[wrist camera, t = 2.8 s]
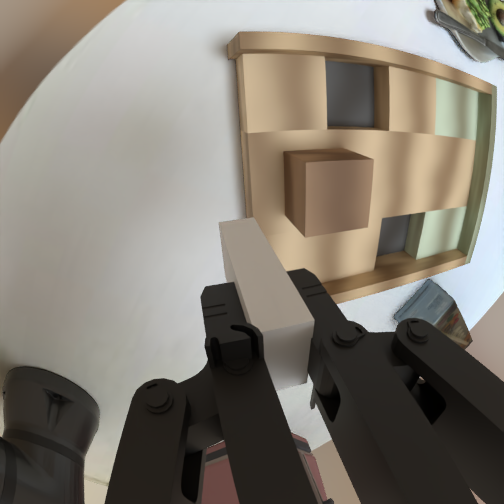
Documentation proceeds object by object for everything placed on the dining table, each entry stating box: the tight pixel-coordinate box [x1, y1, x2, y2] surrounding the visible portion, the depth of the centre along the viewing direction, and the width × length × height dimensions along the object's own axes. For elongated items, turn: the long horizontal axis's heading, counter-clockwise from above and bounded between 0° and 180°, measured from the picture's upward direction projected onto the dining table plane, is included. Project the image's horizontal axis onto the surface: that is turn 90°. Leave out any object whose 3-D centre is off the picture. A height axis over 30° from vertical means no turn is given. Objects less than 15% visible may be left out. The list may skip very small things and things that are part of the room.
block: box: [283, 148, 374, 238], centre depth 20 cm, size 5×5×4 cm
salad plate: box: [434, 0, 504, 63], centre depth 16 cm, size 19×18×5 cm
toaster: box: [201, 433, 334, 504], centre depth 40 cm, size 19×34×20 cm, turn 124°
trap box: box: [227, 32, 497, 304], centre depth 23 cm, size 28×22×4 cm
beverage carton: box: [394, 279, 472, 350], centre depth 38 cm, size 8×19×7 cm, turn 48°
